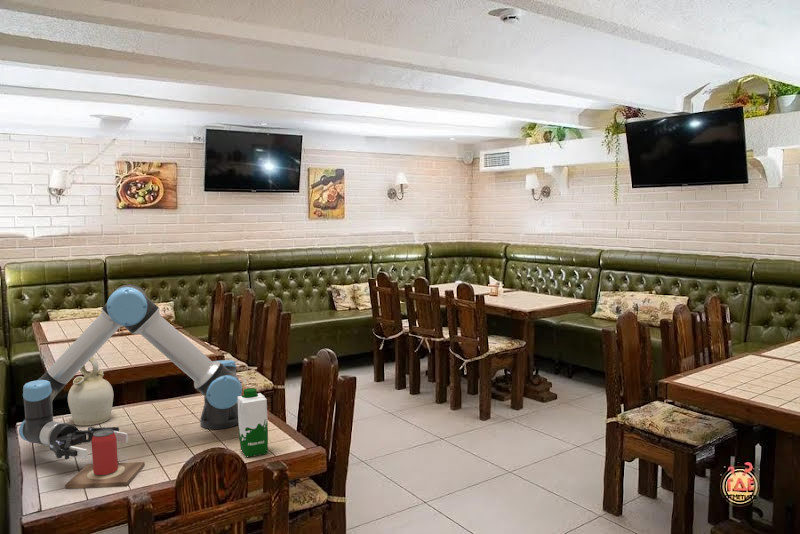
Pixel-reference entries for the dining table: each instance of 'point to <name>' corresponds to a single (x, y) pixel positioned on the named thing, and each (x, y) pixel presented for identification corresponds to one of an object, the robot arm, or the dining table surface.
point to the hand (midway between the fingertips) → (107, 446)
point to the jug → (90, 397)
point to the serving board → (105, 476)
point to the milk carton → (253, 423)
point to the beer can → (104, 452)
